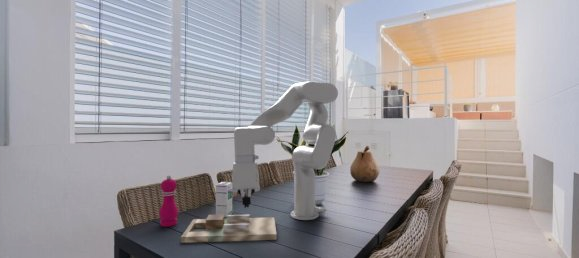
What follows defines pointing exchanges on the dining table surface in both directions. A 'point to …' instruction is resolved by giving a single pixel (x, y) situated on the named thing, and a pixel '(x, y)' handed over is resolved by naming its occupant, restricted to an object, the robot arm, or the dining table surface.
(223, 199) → the syrup box
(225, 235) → the trap board
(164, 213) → the pepper mill
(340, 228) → the dining table surface
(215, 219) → the walnut block
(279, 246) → the dining table surface
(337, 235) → the dining table surface
